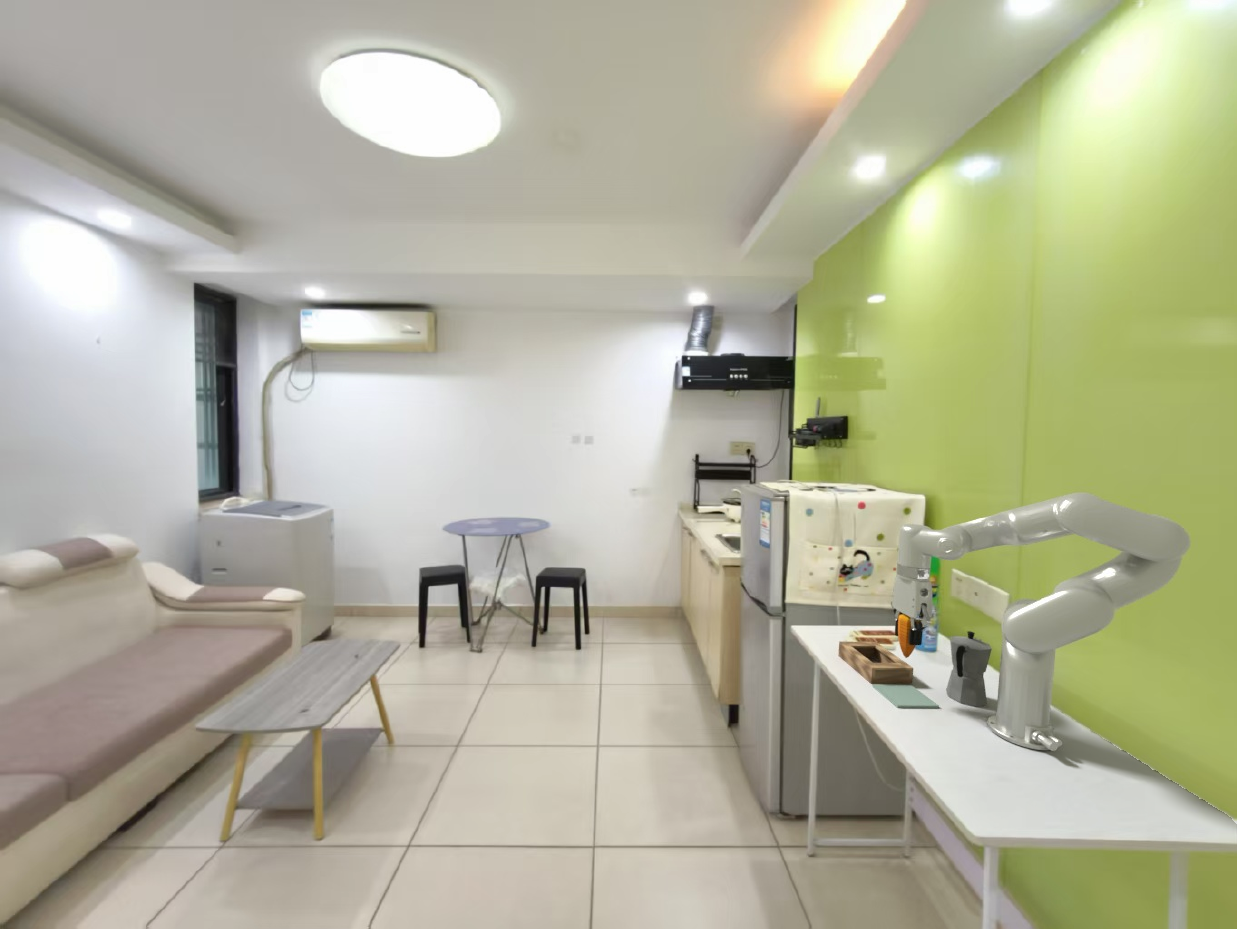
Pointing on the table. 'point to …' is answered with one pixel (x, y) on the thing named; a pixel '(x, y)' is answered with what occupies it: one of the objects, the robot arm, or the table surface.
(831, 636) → the table surface
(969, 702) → the coffeepot
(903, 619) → the carrot
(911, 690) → the pad
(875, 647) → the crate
